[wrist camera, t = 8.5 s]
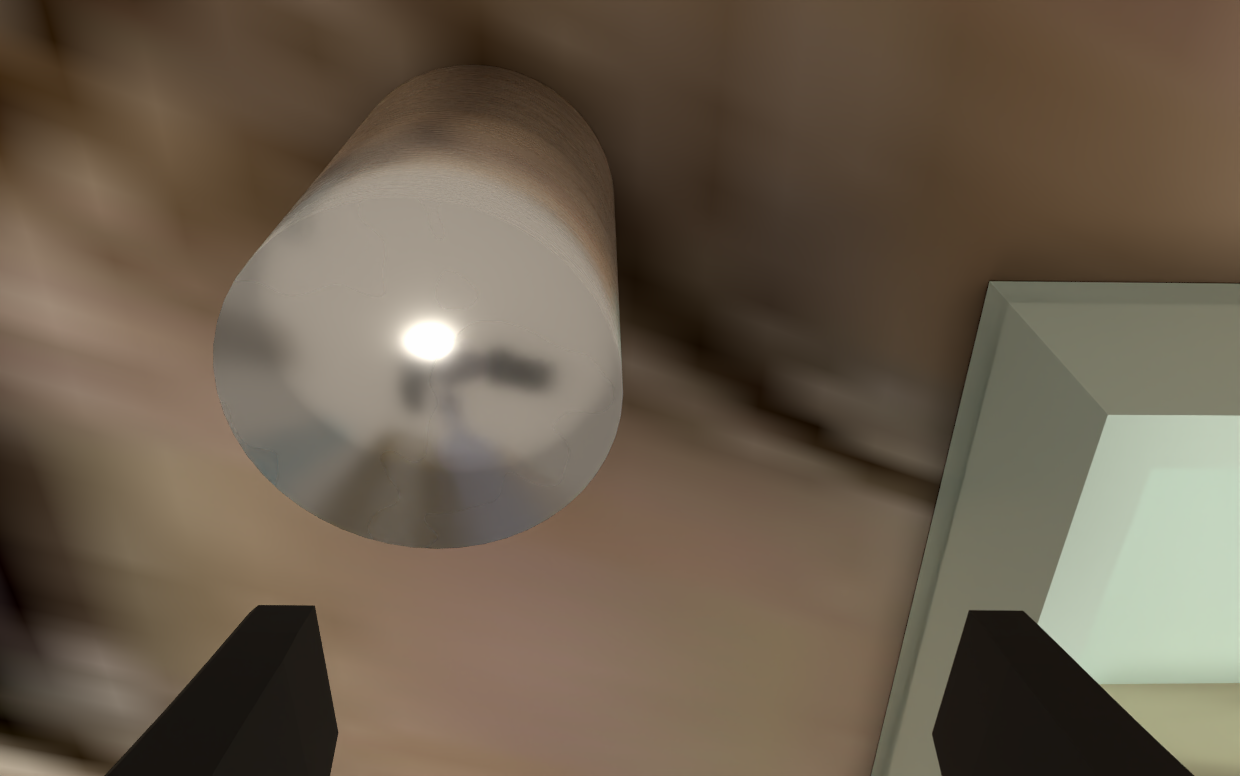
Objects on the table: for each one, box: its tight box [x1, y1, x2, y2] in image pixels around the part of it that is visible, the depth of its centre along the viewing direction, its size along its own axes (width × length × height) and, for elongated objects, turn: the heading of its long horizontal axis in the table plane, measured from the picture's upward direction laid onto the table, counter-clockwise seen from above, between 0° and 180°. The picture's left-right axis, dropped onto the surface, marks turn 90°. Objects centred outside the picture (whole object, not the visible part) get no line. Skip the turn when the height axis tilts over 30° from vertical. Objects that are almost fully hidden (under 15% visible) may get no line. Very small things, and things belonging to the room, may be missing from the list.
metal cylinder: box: [213, 65, 623, 549], centre depth 15 cm, size 5×5×7 cm
